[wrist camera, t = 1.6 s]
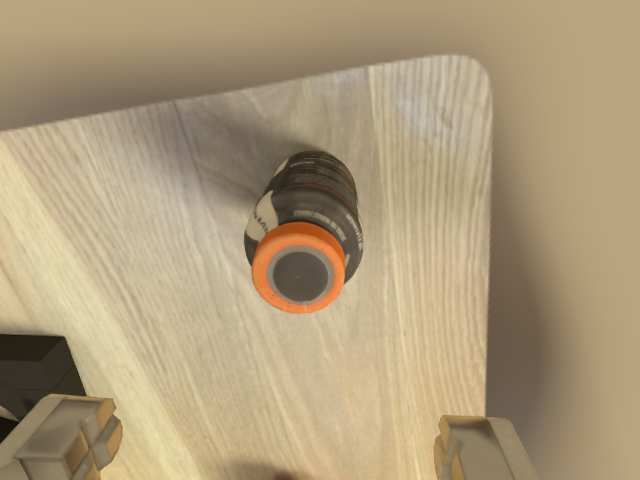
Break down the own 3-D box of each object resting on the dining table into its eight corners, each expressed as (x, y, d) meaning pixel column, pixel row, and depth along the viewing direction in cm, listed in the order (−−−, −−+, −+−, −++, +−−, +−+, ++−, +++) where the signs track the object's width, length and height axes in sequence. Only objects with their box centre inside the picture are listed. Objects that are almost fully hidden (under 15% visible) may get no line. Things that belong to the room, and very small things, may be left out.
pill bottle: (253, 180, 25) (196, 258, 15) (324, 131, 23) (315, 180, 13) (303, 245, 27) (283, 353, 17) (372, 204, 25) (395, 296, 15)
